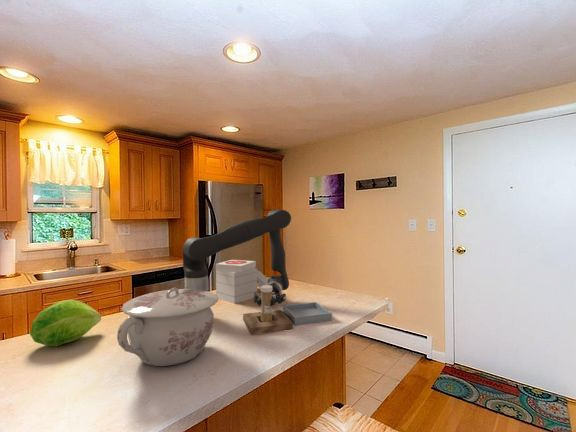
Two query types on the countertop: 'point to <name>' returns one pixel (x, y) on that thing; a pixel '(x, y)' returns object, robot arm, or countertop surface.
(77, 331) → the green papaya
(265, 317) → the spice jar
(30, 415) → the countertop surface
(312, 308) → the parts tray
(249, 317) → the socket board
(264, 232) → the robot arm
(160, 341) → the chamber pot
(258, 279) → the pizza boxes
